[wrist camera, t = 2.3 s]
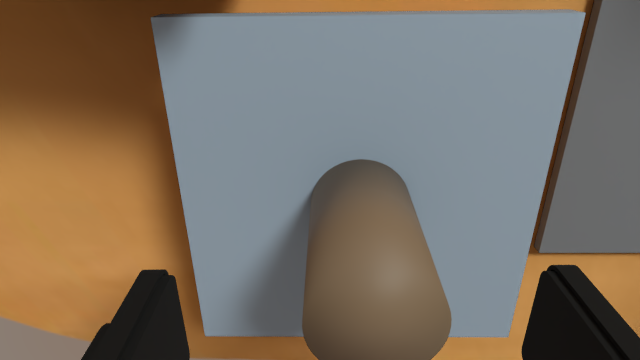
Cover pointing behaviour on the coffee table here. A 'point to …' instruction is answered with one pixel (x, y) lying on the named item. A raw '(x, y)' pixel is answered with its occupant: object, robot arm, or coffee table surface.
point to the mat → (599, 143)
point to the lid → (363, 168)
